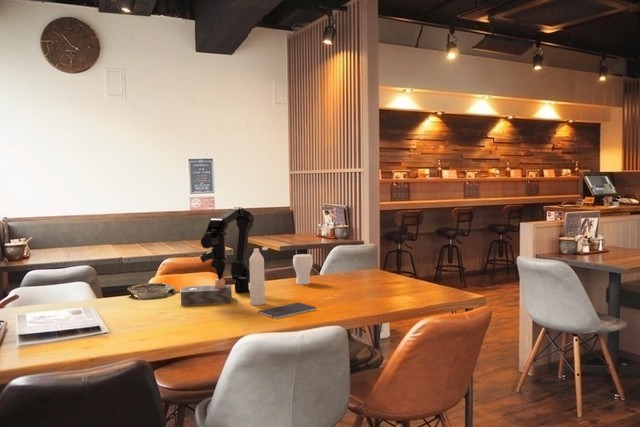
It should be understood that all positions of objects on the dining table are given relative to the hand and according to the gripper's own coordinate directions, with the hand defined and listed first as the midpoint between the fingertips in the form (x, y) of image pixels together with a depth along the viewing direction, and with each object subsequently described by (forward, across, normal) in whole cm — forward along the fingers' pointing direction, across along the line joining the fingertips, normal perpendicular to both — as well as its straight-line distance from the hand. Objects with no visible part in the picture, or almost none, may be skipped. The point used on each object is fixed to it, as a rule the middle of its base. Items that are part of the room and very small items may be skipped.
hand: (219, 279), depth 245 cm
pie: (+11, -23, -35) cm, 43 cm away
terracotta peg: (+6, 0, 0) cm, 6 cm away
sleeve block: (+10, 0, -6) cm, 12 cm away
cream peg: (+10, 0, -12) cm, 15 cm away
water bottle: (+10, +10, +18) cm, 23 cm away
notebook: (+11, +27, +29) cm, 41 cm away
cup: (+10, -32, +42) cm, 54 cm away
